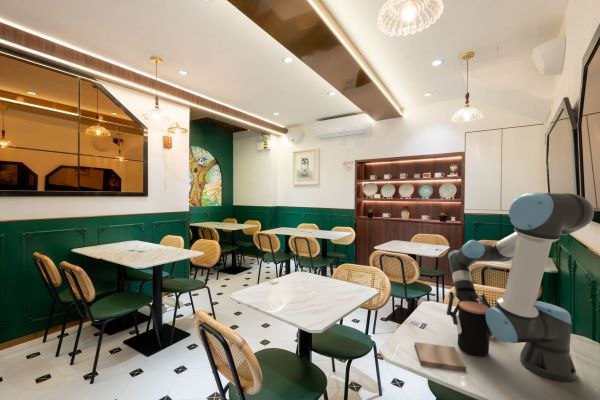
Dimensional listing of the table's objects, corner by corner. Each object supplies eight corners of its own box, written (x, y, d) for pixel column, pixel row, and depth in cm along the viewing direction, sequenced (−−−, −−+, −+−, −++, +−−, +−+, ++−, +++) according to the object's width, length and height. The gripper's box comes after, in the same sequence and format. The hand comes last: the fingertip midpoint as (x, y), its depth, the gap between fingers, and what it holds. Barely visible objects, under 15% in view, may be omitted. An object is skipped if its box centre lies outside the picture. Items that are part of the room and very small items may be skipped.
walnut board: (454, 350, 110) (454, 347, 110) (466, 371, 97) (466, 367, 97) (414, 345, 113) (414, 341, 113) (420, 364, 101) (420, 360, 100)
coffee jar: (494, 359, 104) (495, 313, 104) (463, 356, 106) (464, 310, 106) (481, 344, 115) (482, 302, 114) (453, 341, 117) (454, 299, 116)
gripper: (489, 289, 122) (506, 342, 107) (433, 284, 128) (441, 334, 113) (495, 281, 117) (513, 335, 102) (436, 276, 122) (445, 327, 107)
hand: (476, 335), depth 107 cm, fingers open, 11 cm apart
